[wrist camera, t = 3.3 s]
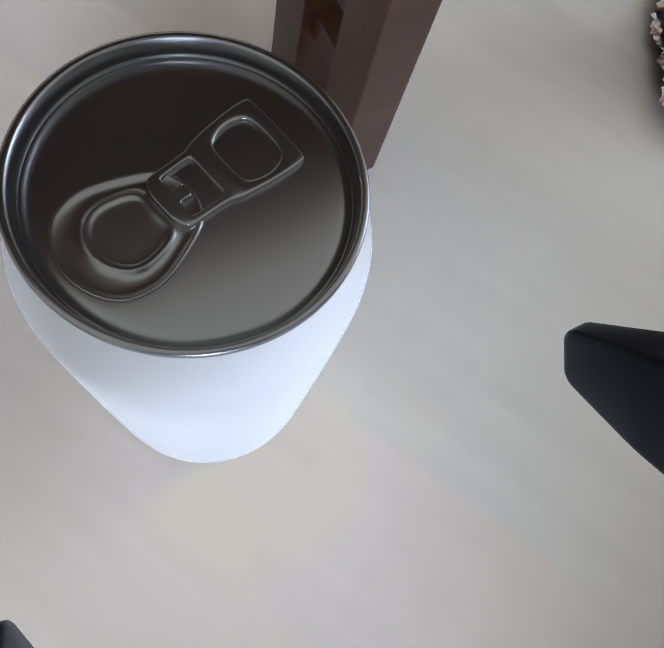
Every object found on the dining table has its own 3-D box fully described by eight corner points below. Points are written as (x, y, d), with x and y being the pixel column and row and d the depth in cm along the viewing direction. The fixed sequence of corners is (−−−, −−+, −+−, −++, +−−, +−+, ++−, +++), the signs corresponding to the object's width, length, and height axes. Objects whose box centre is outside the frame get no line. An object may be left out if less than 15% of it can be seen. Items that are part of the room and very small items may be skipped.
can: (65, 356, 20) (-137, 143, 9) (221, 241, 22) (217, -51, 11) (195, 509, 19) (156, 487, 8) (344, 375, 21) (476, 210, 10)
